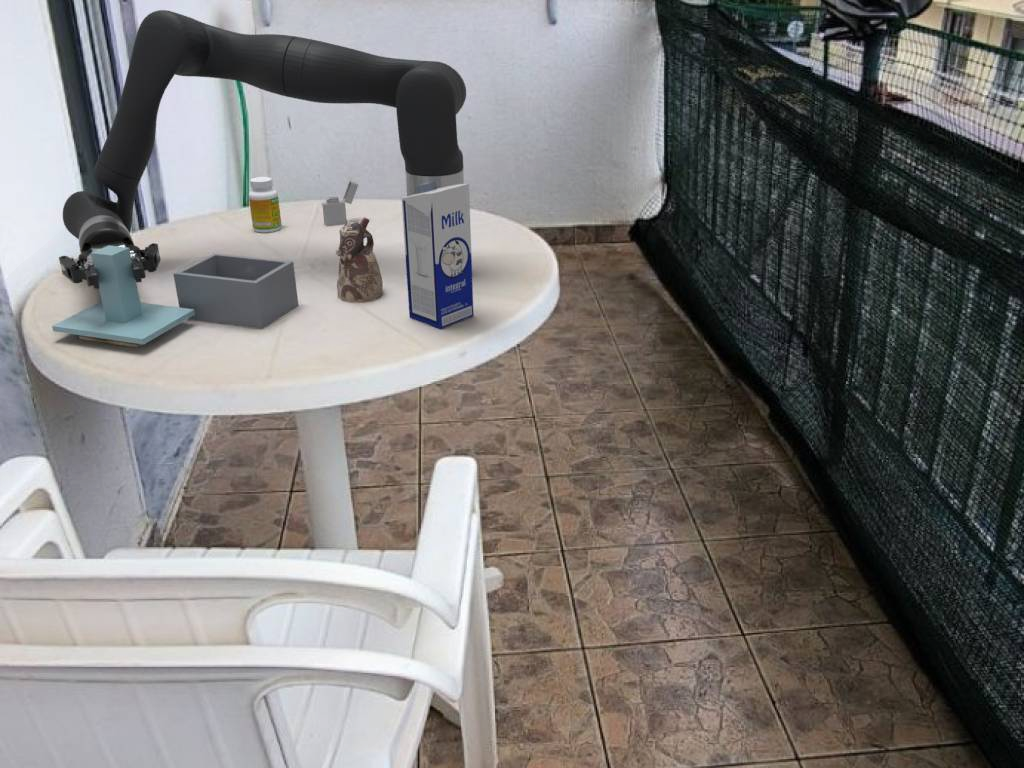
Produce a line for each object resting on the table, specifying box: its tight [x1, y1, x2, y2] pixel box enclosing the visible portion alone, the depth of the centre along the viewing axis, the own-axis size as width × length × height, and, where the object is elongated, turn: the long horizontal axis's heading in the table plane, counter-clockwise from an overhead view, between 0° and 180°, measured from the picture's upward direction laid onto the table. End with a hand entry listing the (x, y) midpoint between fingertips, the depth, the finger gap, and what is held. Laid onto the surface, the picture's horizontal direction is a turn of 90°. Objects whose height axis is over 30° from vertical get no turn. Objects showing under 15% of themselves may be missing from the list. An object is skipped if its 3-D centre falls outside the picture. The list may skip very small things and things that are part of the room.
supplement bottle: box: [248, 176, 282, 234], centre depth 179 cm, size 5×5×10 cm
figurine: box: [335, 217, 384, 303], centre depth 146 cm, size 7×7×12 cm
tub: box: [173, 252, 299, 330], centre depth 141 cm, size 14×10×7 cm
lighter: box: [321, 180, 359, 227], centre depth 183 cm, size 7×2×8 cm, turn 116°
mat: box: [78, 335, 143, 348], centre depth 135 cm, size 10×8×1 cm
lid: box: [51, 246, 195, 345], centre depth 132 cm, size 15×11×11 cm
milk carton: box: [400, 182, 474, 330], centre depth 135 cm, size 7×7×20 cm
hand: (117, 278), depth 129 cm, fingers closed on lid, 5 cm apart
